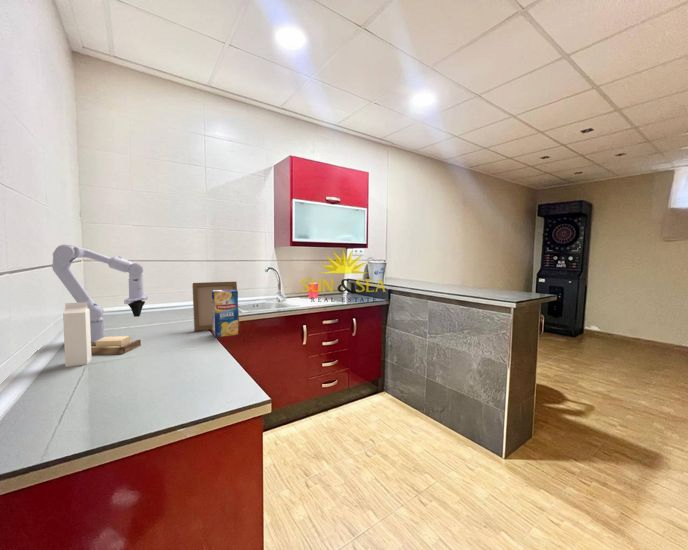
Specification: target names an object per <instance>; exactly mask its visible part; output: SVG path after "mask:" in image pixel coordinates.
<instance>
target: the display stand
mask: <svg viewBox="0 0 688 550" xmlns="http://www.w3.org/2000/svg"><path fill="white" fill-rule="evenodd" d="M141 345H142V340H141V339H136V340H133V341H130V343H129V344H126V345H124V346H122V347H120V346H96V342H91V355H124V354H126V353H128V352H131V351H132V350H134V349H136V348H139V347H141Z"/></svg>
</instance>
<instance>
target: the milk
mask: <svg viewBox="0 0 688 550" xmlns="http://www.w3.org/2000/svg"><path fill="white" fill-rule="evenodd" d="M64 305H65V306H64V307H65V308H64V311H63V313H62V322H63V343H64V345H63V346H64V365H65V368H68V367H76V366H85V365H88V364H89V363H90V362H91V360H92V354H91V344H92V342H91V333H90V310H89V308H88V307H87V302H83V303H77V302H67V303H64Z"/></svg>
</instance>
